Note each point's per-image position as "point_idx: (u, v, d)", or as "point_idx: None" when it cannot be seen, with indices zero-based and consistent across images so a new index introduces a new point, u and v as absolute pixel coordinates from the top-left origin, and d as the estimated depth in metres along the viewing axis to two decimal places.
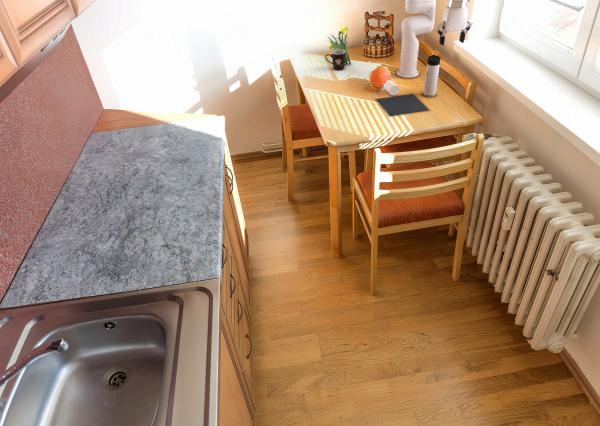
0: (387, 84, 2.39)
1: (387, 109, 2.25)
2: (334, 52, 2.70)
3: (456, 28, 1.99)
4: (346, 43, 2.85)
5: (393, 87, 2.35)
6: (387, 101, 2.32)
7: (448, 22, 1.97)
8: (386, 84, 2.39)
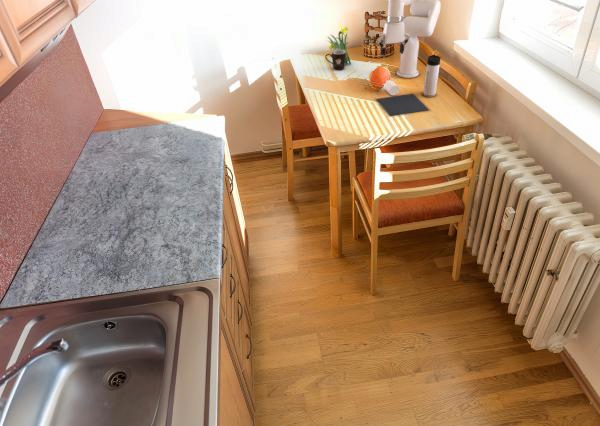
0: (387, 84, 2.39)
1: (387, 109, 2.25)
2: (334, 52, 2.70)
3: (395, 41, 2.24)
4: (346, 43, 2.85)
5: (393, 87, 2.35)
6: (387, 101, 2.32)
7: (387, 35, 2.22)
8: (386, 84, 2.39)
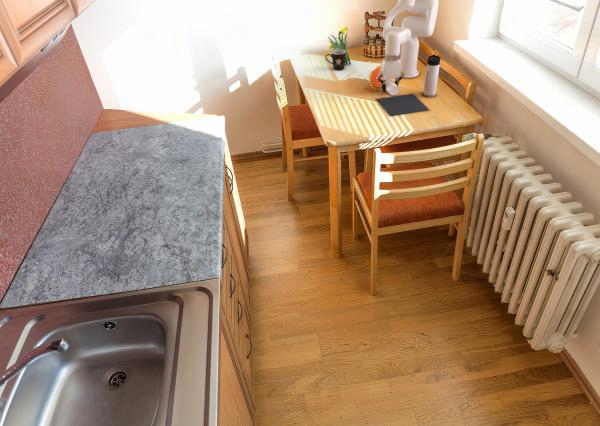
0: (387, 84, 2.39)
1: (387, 109, 2.25)
2: (334, 52, 2.70)
3: (392, 77, 2.36)
4: (346, 43, 2.85)
5: (393, 87, 2.35)
6: (387, 101, 2.32)
7: (384, 72, 2.34)
8: (386, 84, 2.39)
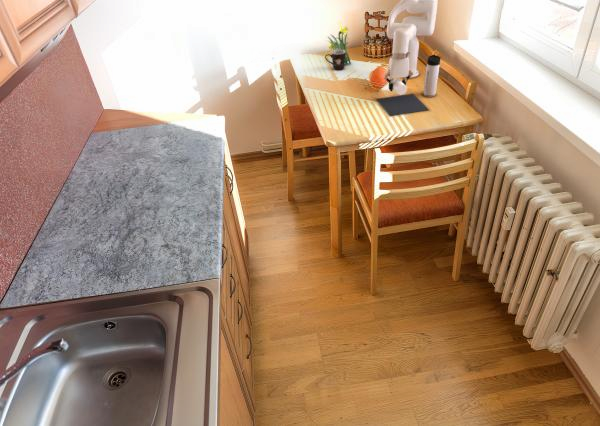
0: (394, 83, 2.28)
1: (387, 109, 2.25)
2: (334, 52, 2.70)
3: (399, 75, 2.25)
4: (346, 43, 2.85)
5: (401, 86, 2.25)
6: (387, 101, 2.32)
7: (392, 71, 2.23)
8: (393, 83, 2.29)
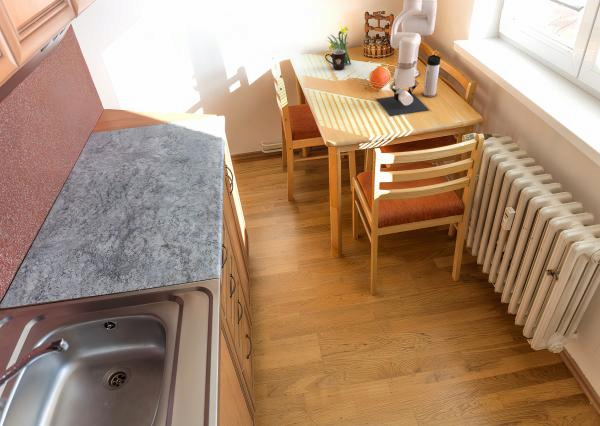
0: (400, 93, 2.23)
1: (387, 109, 2.25)
2: (334, 52, 2.70)
3: (405, 85, 2.21)
4: (346, 43, 2.85)
5: (406, 97, 2.20)
6: (387, 101, 2.32)
7: (397, 81, 2.18)
8: (399, 93, 2.24)
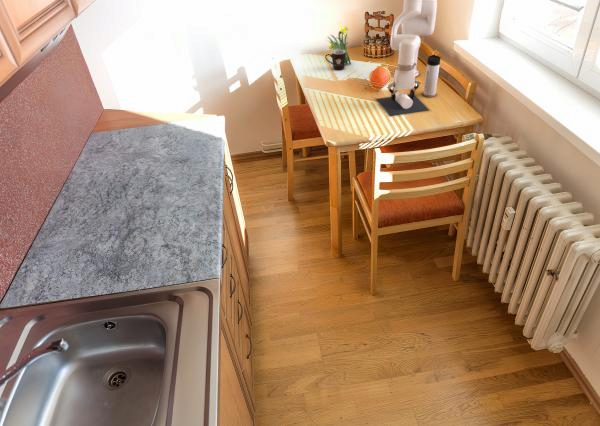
0: (400, 97, 2.24)
1: (387, 109, 2.25)
2: (334, 52, 2.70)
3: (405, 87, 2.21)
4: (346, 43, 2.85)
5: (406, 100, 2.21)
6: (387, 101, 2.32)
7: (397, 83, 2.19)
8: (398, 97, 2.25)
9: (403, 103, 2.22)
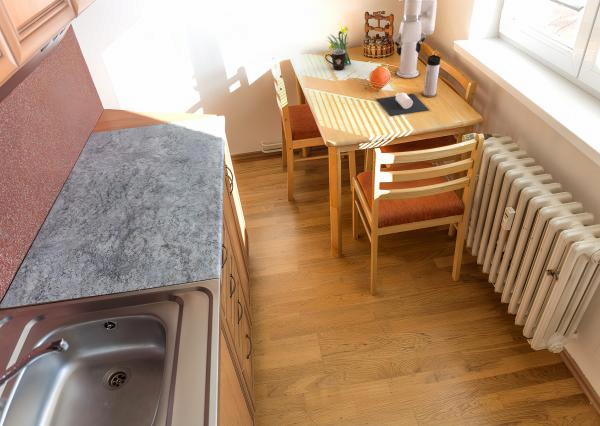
0: (400, 97, 2.24)
1: (387, 109, 2.25)
2: (334, 52, 2.70)
3: (411, 40, 2.17)
4: (346, 43, 2.85)
5: (406, 100, 2.21)
6: (387, 101, 2.32)
7: (403, 35, 2.15)
8: (398, 97, 2.25)
9: (403, 103, 2.22)
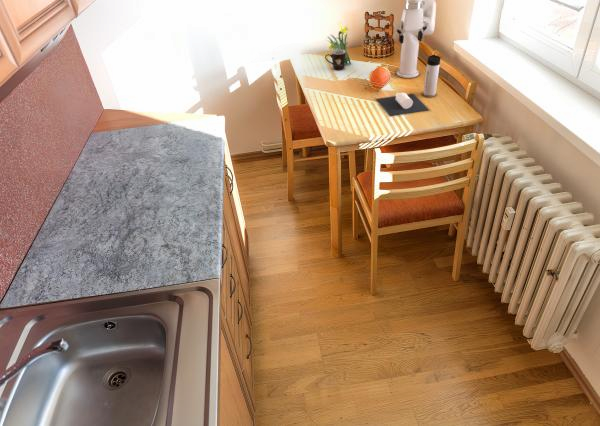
0: (400, 97, 2.24)
1: (387, 109, 2.25)
2: (334, 52, 2.70)
3: (413, 28, 2.19)
4: (346, 43, 2.85)
5: (406, 100, 2.21)
6: (387, 101, 2.32)
7: (405, 22, 2.17)
8: (398, 97, 2.25)
9: (403, 103, 2.22)
